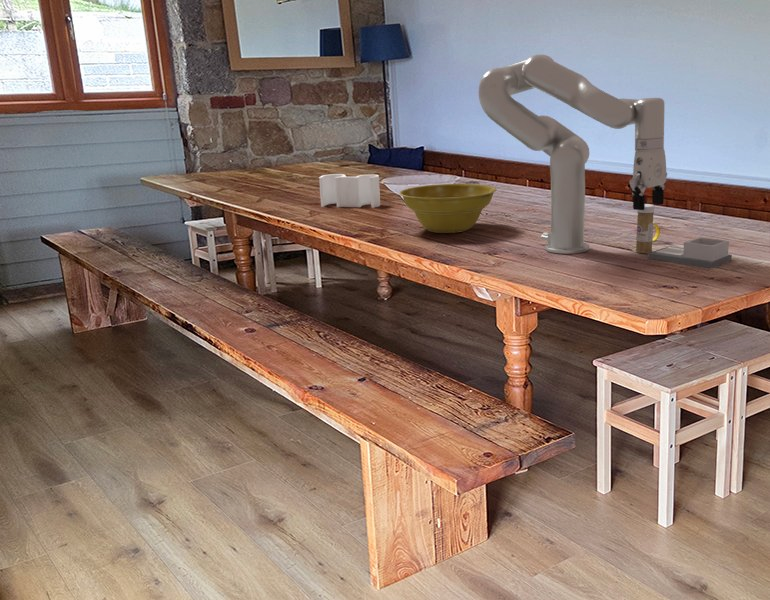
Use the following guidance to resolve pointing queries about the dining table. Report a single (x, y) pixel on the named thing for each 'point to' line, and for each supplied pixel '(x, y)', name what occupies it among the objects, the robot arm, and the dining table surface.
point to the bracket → (350, 190)
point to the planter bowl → (448, 205)
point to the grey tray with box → (696, 253)
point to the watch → (656, 232)
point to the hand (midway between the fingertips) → (648, 206)
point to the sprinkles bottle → (645, 229)
